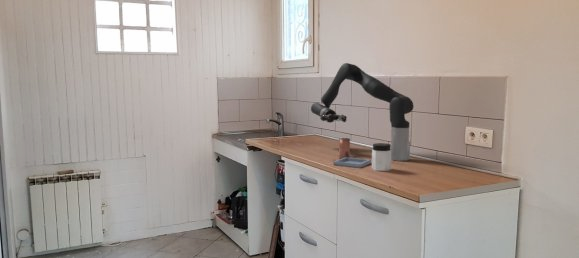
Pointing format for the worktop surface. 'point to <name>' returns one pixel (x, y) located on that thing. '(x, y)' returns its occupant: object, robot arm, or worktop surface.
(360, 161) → the tray
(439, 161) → the worktop surface
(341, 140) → the canister
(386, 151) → the jar
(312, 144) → the worktop surface
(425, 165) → the worktop surface
